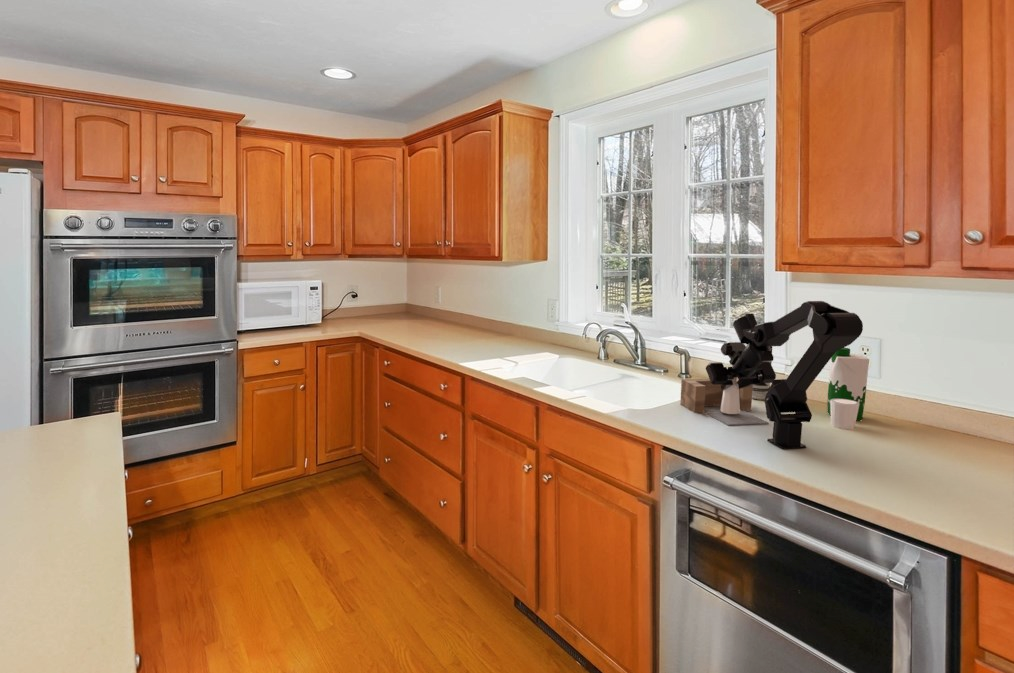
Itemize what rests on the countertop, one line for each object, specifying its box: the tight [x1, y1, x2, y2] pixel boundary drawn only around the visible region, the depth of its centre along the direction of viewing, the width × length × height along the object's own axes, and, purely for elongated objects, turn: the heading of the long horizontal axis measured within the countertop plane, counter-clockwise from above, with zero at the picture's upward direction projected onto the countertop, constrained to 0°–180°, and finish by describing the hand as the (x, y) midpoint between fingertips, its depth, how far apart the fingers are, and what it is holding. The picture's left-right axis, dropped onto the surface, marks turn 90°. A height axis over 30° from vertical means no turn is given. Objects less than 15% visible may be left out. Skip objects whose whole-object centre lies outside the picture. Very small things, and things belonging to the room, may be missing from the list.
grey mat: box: [706, 410, 770, 427], centre depth 162 cm, size 12×12×1 cm
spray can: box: [752, 346, 773, 401], centre depth 185 cm, size 7×7×20 cm
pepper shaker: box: [719, 378, 741, 414], centre depth 165 cm, size 5×5×11 cm
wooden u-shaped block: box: [680, 378, 753, 414], centre depth 174 cm, size 10×18×8 cm, turn 99°
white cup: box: [830, 399, 860, 430], centre depth 155 cm, size 7×7×7 cm
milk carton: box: [826, 347, 870, 421], centre depth 163 cm, size 9×9×20 cm
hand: (728, 388), depth 166 cm, fingers closed on pepper shaker, 4 cm apart
